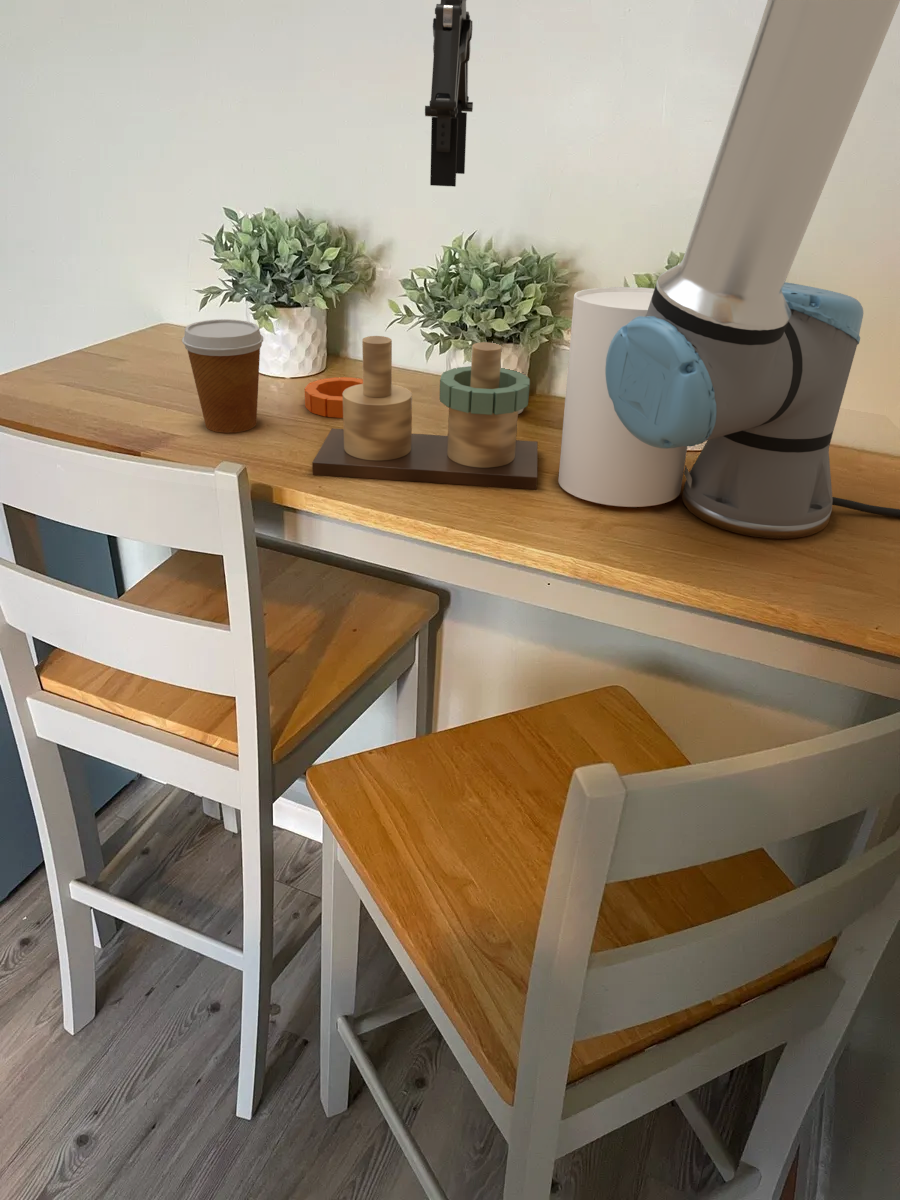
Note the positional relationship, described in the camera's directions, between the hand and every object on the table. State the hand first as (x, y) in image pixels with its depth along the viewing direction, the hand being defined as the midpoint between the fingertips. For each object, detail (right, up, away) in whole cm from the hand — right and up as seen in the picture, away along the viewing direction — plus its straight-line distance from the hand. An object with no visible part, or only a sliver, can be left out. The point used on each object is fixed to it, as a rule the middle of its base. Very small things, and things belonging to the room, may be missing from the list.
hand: (448, 179), depth 103 cm
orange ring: (-14, -22, +18) cm, 32 cm away
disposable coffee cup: (-27, -26, +10) cm, 39 cm away
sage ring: (+4, -26, -3) cm, 26 cm away
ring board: (-2, -32, +1) cm, 32 cm away
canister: (+19, -35, -2) cm, 40 cm away
